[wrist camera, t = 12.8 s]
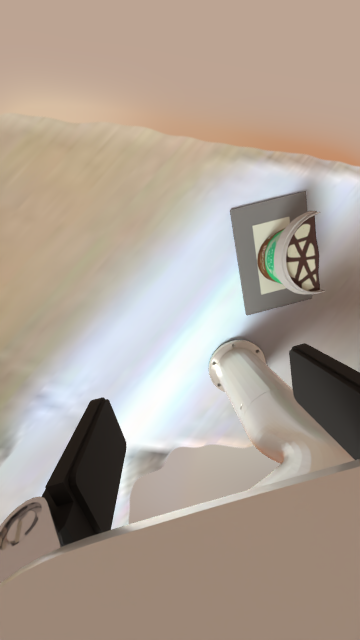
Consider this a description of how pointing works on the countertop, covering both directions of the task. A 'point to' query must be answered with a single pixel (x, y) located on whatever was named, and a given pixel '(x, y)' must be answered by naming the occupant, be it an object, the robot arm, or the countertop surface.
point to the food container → (293, 256)
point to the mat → (249, 236)
